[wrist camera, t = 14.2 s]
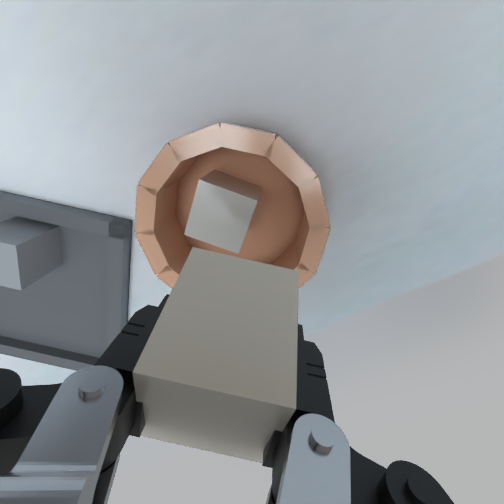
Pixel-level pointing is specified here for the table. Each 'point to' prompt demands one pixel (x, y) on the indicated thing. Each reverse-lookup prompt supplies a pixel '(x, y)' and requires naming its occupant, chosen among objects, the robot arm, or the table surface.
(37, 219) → the tray
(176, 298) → the off-white cubic block
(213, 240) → the pale grey cuboid
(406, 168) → the table surface
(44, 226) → the light gray block
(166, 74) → the table surface
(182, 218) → the bowl
